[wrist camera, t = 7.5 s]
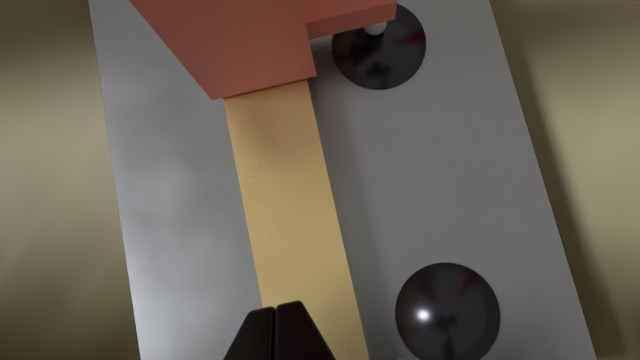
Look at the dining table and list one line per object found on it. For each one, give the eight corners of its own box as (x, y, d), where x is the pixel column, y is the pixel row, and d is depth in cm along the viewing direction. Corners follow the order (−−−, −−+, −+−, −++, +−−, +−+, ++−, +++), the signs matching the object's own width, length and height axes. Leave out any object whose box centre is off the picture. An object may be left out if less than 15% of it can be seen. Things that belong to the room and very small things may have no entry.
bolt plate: (583, 357, 16) (615, 368, 14) (167, 446, 16) (140, 469, 14) (382, -320, 20) (385, -384, 18) (64, -238, 21) (33, -292, 19)
